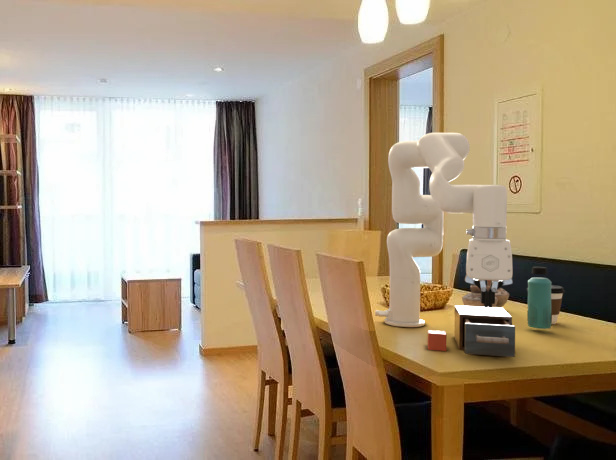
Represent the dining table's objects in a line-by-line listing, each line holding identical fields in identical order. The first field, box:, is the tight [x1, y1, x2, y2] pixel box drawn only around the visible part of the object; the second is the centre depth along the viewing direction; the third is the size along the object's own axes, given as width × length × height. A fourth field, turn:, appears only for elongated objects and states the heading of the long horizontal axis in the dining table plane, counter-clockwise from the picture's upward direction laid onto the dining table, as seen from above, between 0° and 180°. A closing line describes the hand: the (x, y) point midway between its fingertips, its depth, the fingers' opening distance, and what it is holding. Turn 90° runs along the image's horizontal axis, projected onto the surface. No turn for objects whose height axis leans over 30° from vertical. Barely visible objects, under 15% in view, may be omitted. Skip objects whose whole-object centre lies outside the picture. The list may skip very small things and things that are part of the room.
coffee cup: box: [526, 284, 566, 325], centre depth 191 cm, size 11×11×12 cm
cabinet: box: [453, 305, 513, 351], centre depth 161 cm, size 15×13×10 cm
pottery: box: [461, 280, 510, 308], centre depth 207 cm, size 11×25×12 cm, turn 136°
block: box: [427, 329, 448, 352], centre depth 158 cm, size 4×4×4 cm
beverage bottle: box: [526, 266, 553, 330], centre depth 177 cm, size 6×7×20 cm
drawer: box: [463, 317, 516, 358], centre depth 150 cm, size 18×11×8 cm, turn 161°
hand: (487, 306), depth 145 cm, fingers closed
